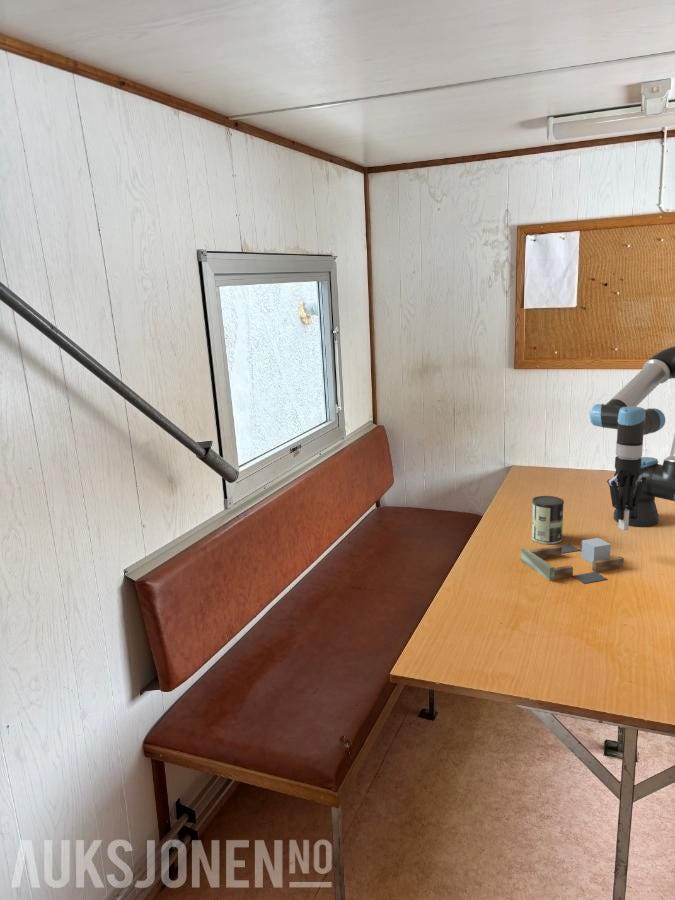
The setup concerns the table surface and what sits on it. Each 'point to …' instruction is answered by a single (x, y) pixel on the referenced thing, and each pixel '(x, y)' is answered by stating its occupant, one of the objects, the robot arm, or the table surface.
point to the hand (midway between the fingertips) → (623, 528)
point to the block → (595, 550)
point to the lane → (548, 571)
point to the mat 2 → (589, 577)
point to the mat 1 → (568, 548)
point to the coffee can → (547, 519)
